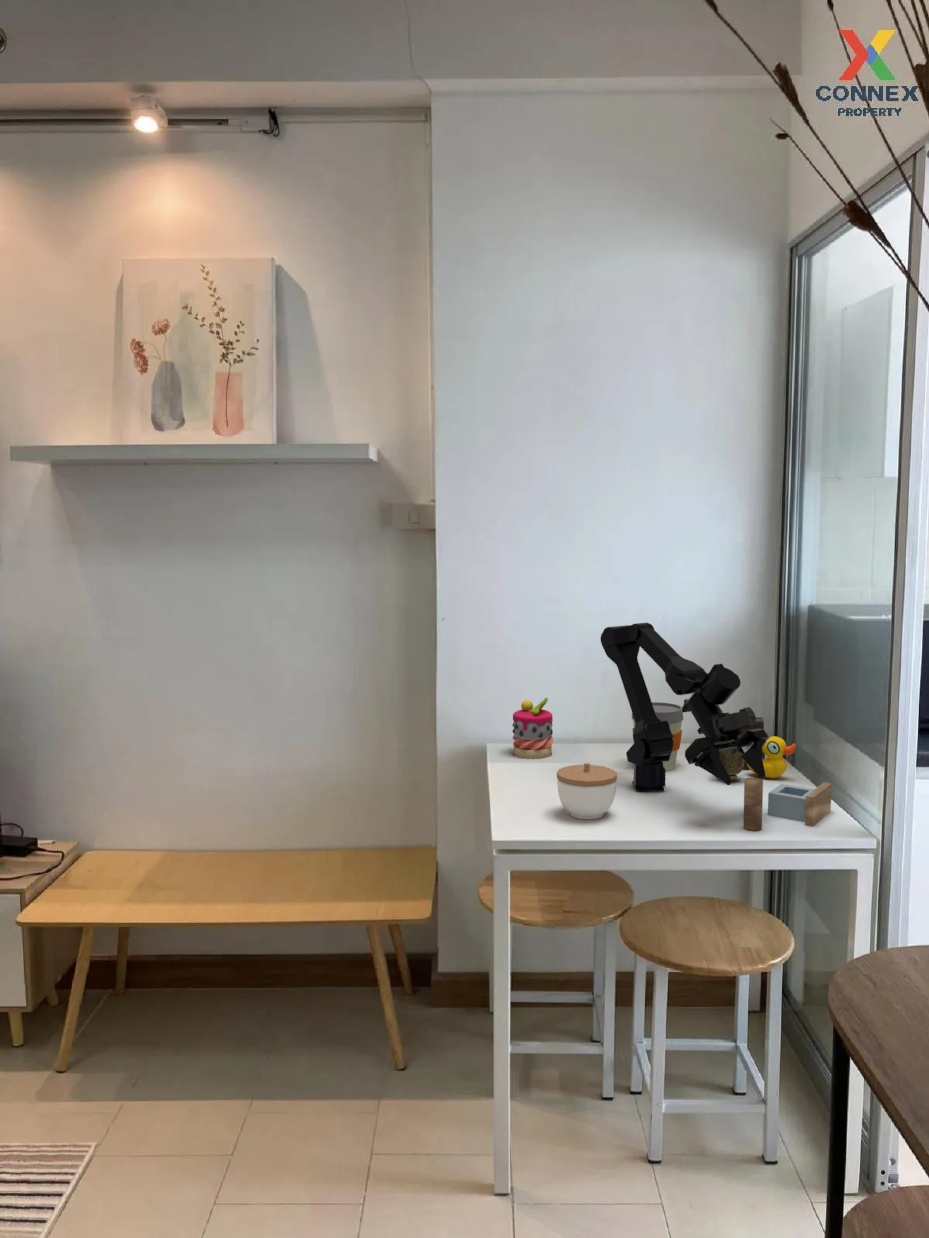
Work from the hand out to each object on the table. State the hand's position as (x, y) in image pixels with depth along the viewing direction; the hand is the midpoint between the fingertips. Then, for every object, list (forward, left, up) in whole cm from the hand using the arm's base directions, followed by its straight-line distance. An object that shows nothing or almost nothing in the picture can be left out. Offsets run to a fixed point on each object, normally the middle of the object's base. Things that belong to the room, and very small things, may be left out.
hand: (747, 780), depth 208 cm
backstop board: (+16, +5, -9) cm, 19 cm away
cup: (+4, +33, -10) cm, 35 cm away
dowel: (+1, -2, -9) cm, 10 cm away
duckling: (+14, +35, -10) cm, 39 cm away
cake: (-41, +58, -10) cm, 71 cm away
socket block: (+12, +8, -10) cm, 17 cm away
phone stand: (+12, +46, -10) cm, 49 cm away
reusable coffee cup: (-11, +45, -10) cm, 47 cm away
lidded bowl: (-32, +8, -10) cm, 34 cm away
